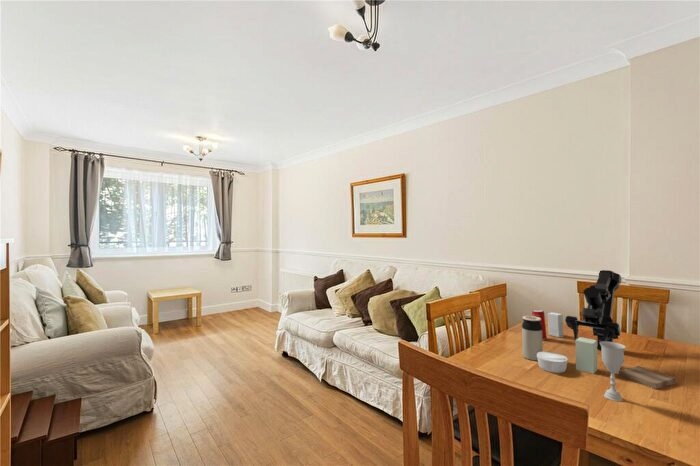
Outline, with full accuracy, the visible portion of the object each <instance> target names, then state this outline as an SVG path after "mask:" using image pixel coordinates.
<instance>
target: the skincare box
mask: <svg viewBox="0 0 700 466" xmlns="http://www.w3.org/2000/svg"><path fill="white" fill-rule="evenodd" d="M547 327H548V328H547V329H548V336H553V337H556V338H563V337H564V336H565V335H564V317H563V314H562V313H557V312H548V313H547Z"/></svg>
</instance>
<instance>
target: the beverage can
mask: <svg viewBox="0 0 700 466" xmlns="http://www.w3.org/2000/svg"><path fill="white" fill-rule="evenodd" d="M531 316H535V317H539V318H541V321H540V323H541V325H542V341H544V340H547V338H548V337H547V328H546V326H547V325H546V318H545V312H544V310H543V309H532V312H531Z"/></svg>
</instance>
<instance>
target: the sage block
mask: <svg viewBox="0 0 700 466" xmlns="http://www.w3.org/2000/svg"><path fill="white" fill-rule="evenodd" d="M574 340H575V339H574ZM574 342H575V370H576V371H577V370H578V371H581V372H583V373H584V372H585V373H589V374H596V372H597V371H598V349H597V339H592V338H586V337H581V336H579V337H577V339H576V340H575V341H574Z"/></svg>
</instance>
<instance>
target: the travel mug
mask: <svg viewBox="0 0 700 466" xmlns="http://www.w3.org/2000/svg"><path fill="white" fill-rule="evenodd" d="M522 320H523V322H522V323H521V334H522V335H521V336H522V338H521V341H522V342H521V343H522V356H523V358H525V359H526V360H529V361H530V360H531V361H538V358H537V353H539V352H544V351H543V350H544V349H543V340H542V325H541V323H540V321H541V318H539V317H535V316H532V315H523V316H522Z"/></svg>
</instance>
